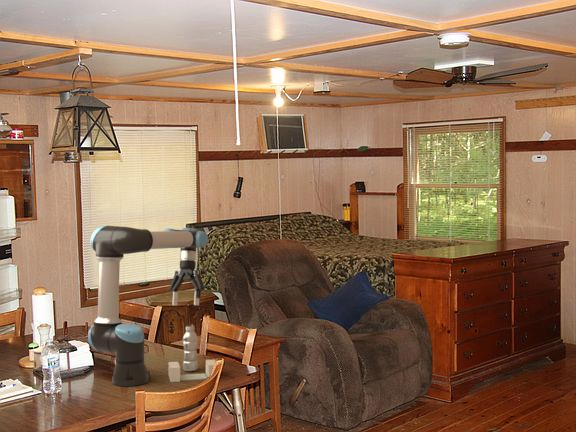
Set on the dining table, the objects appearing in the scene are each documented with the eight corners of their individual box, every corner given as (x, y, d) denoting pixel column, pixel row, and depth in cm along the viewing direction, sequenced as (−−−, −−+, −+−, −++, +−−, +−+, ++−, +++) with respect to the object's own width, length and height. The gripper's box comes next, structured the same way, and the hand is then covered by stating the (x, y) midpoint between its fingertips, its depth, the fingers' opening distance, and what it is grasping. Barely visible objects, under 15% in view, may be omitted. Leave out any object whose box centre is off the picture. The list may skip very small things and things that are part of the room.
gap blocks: (168, 376, 332) (168, 362, 331) (214, 372, 336) (214, 359, 336) (170, 382, 322) (170, 367, 322) (218, 378, 327) (218, 364, 326)
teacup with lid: (35, 367, 347) (35, 341, 347) (56, 366, 348) (56, 341, 348) (30, 374, 335) (29, 348, 335) (51, 373, 336) (51, 347, 336)
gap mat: (179, 375, 332) (179, 374, 332) (204, 374, 334) (204, 373, 334) (181, 380, 324) (181, 379, 324) (207, 379, 327) (207, 378, 327)
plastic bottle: (183, 369, 343) (183, 324, 342) (199, 369, 343) (198, 324, 342) (181, 372, 337) (180, 327, 336) (196, 372, 337) (196, 327, 335)
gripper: (213, 260, 364) (211, 305, 360) (173, 262, 378) (171, 306, 374) (202, 258, 358) (200, 304, 354) (163, 260, 372) (160, 305, 368)
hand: (185, 305), depth 364 cm, fingers open, 13 cm apart
